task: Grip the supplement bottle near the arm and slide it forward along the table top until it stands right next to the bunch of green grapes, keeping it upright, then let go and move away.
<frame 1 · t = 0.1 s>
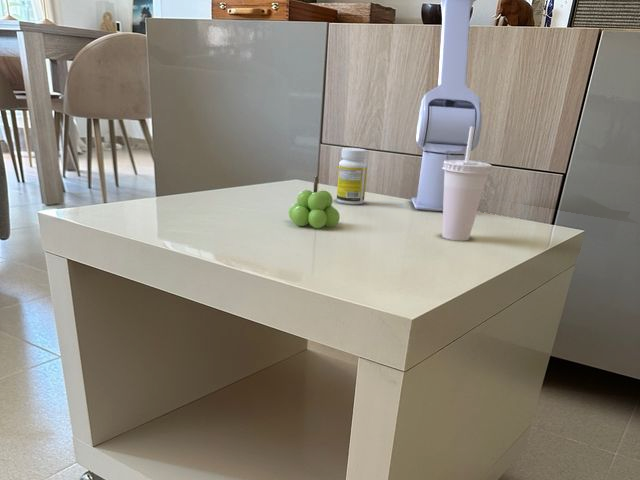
grapes: (313, 224, 89), on the table
smoothie: (455, 238, 87), on the table
supplement bottle: (349, 203, 107), on the table
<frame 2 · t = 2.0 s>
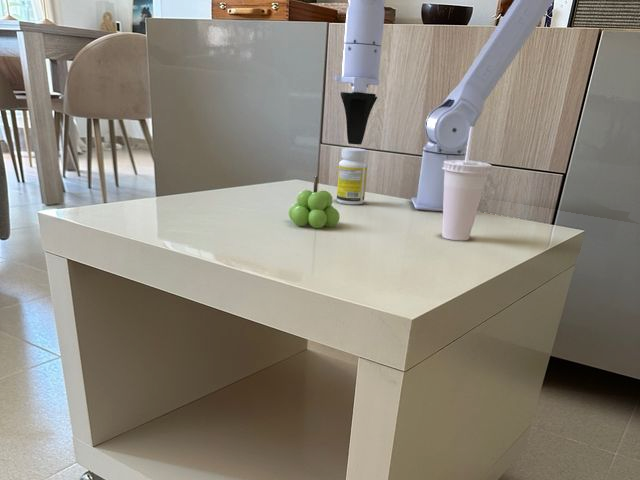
hand: (354, 142, 102), 9 cm above the table, tool pointing down, fingers open, 7 cm apart
nothing on the table moved.
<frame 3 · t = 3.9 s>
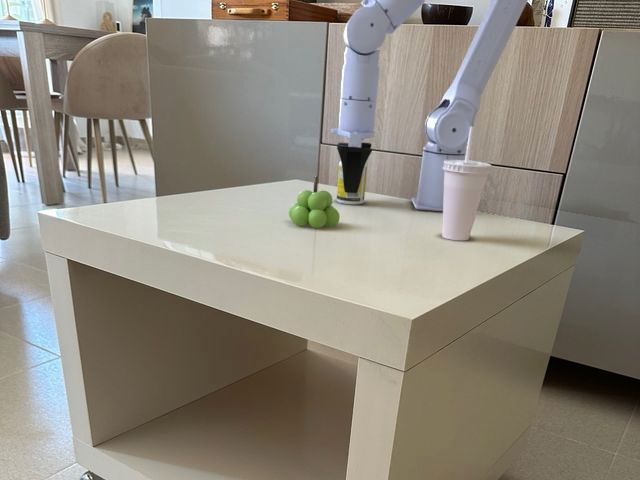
hand: (351, 190, 106), 2 cm above the table, tool pointing down, fingers closed on supplement bottle, 5 cm apart
supplement bottle: (349, 203, 107), on the table, touching gripper
everything else where it was.
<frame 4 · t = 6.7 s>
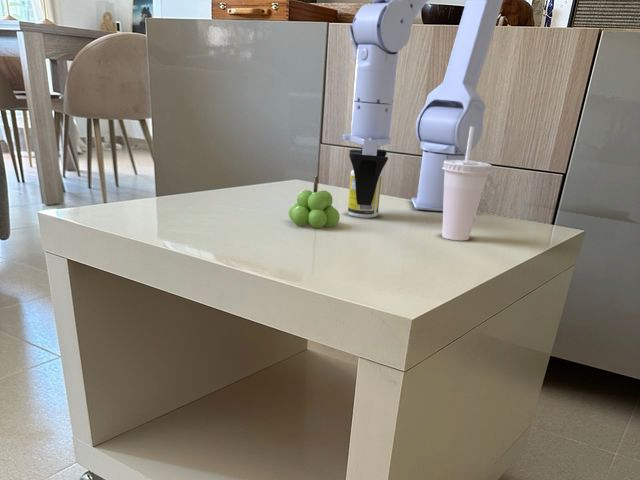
hand: (363, 201, 97), 2 cm above the table, tool pointing down, fingers closed on supplement bottle, 5 cm apart
supplement bottle: (362, 216, 98), on the table, touching gripper
everything else where it was.
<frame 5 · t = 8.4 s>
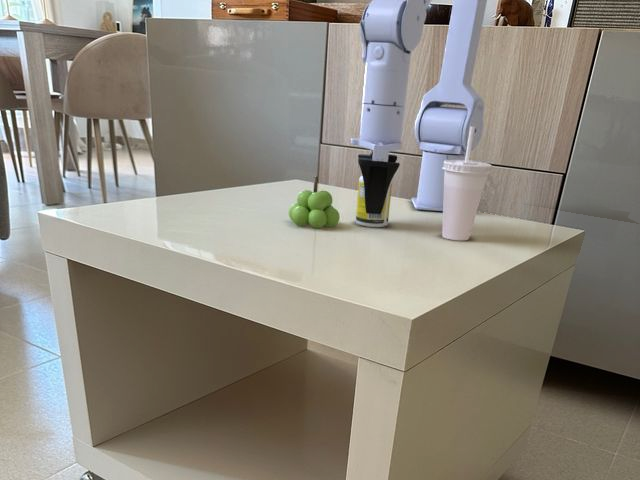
hand: (373, 210, 91), 2 cm above the table, tool pointing down, fingers closed on supplement bottle, 5 cm apart
supplement bottle: (371, 225, 92), on the table, touching gripper
everything else where it was.
when the fingers open (2 cm above the table, at t = 9.8 s): supplement bottle stays where it is, on the table.
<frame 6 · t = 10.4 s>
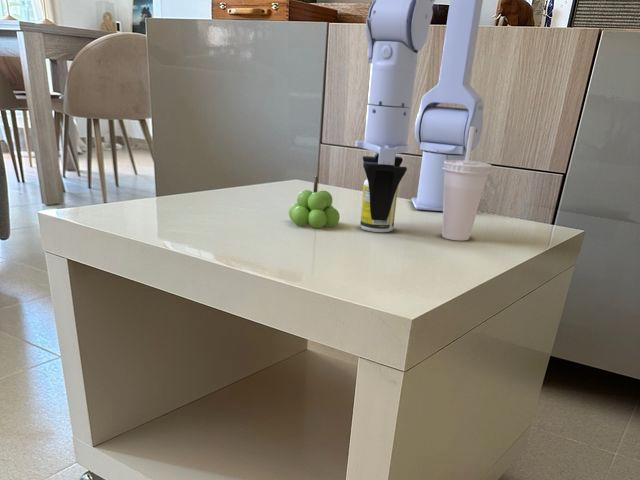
hand: (378, 214, 88), 2 cm above the table, tool pointing down, fingers open, 7 cm apart
supplement bottle: (376, 230, 89), on the table
everything else where it was.
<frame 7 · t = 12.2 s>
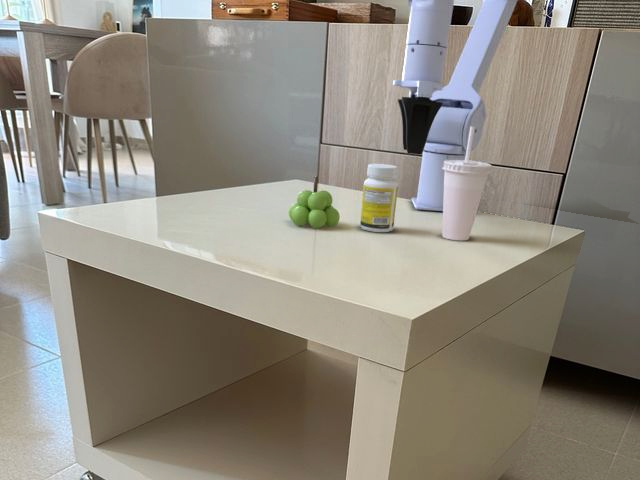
hand: (412, 152, 94), 9 cm above the table, tool pointing down, fingers open, 7 cm apart
nothing on the table moved.
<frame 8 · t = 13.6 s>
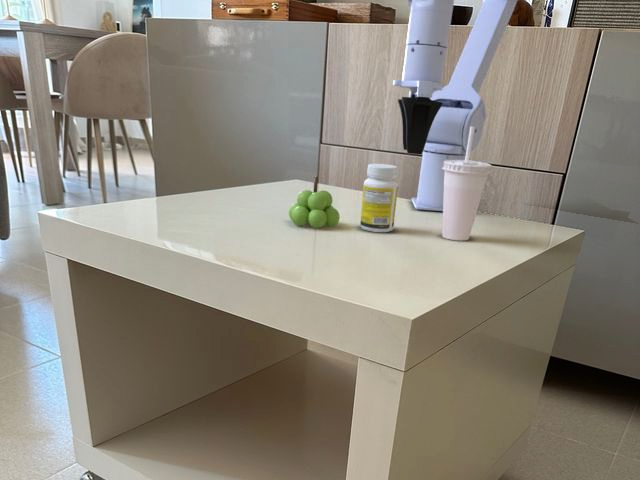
hand: (412, 152, 94), 9 cm above the table, tool pointing down, fingers open, 7 cm apart
nothing on the table moved.
at the end: supplement bottle 9.0 cm from the grapes (horizontally); supplement bottle tilted 0°; smoothie moved 0.2 cm from its start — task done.
